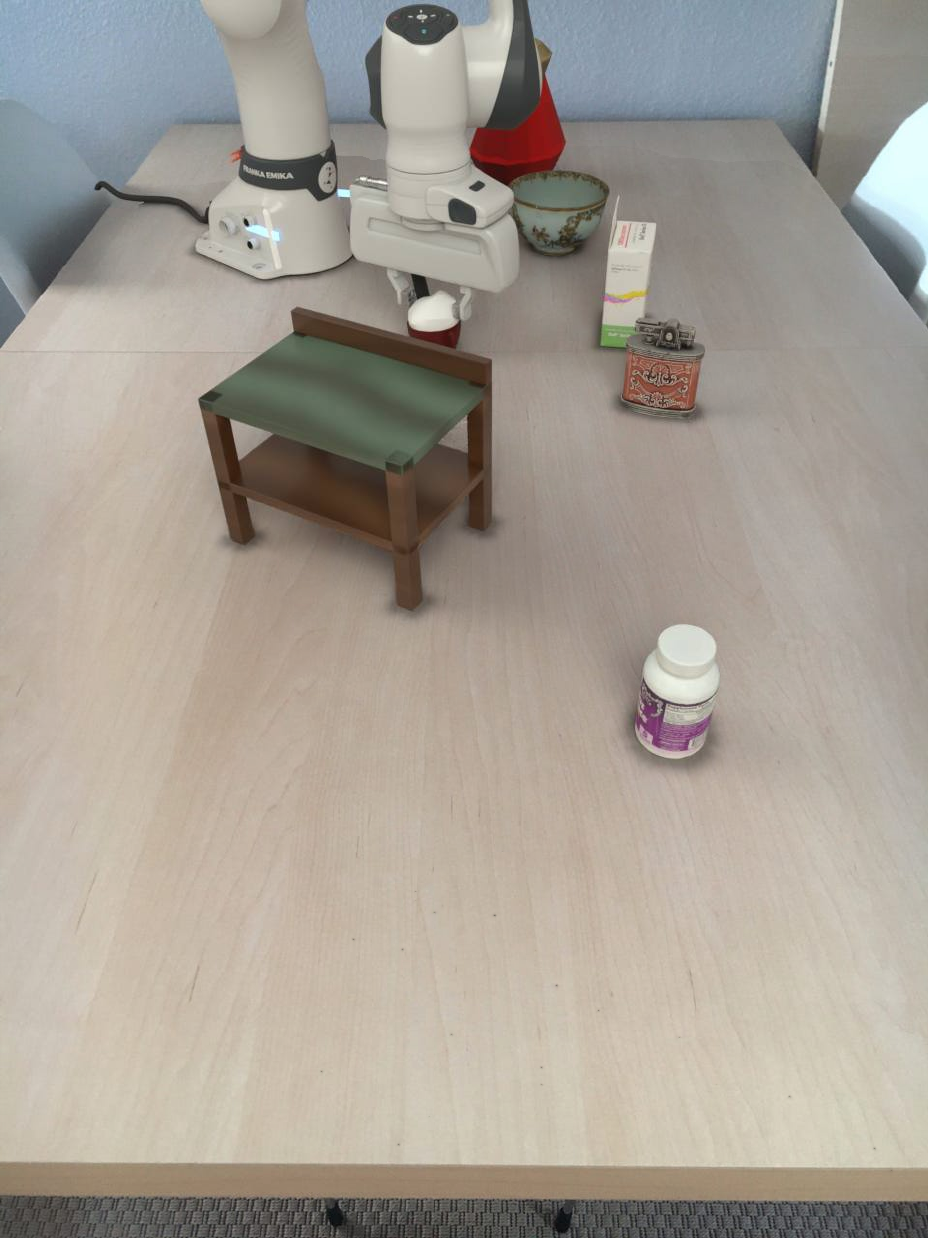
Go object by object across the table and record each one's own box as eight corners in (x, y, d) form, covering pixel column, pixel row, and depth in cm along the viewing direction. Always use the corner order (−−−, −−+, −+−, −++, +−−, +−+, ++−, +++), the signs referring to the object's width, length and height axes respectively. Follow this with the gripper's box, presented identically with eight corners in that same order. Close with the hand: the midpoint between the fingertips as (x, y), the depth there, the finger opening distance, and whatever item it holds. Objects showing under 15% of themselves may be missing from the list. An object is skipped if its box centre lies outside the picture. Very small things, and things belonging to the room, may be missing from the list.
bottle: (519, 163, 161) (522, 22, 147) (583, 184, 154) (592, 38, 140) (449, 190, 153) (446, 44, 139) (513, 213, 146) (516, 62, 132)
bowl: (491, 259, 135) (491, 199, 129) (524, 221, 143) (526, 164, 138) (588, 274, 131) (592, 213, 125) (616, 234, 140) (621, 176, 134)
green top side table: (412, 611, 84) (400, 443, 73) (230, 540, 92) (192, 376, 80) (492, 522, 93) (492, 358, 81) (319, 463, 100) (296, 305, 89)
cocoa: (466, 364, 114) (465, 262, 106) (412, 369, 113) (406, 267, 105) (455, 327, 121) (453, 228, 113) (404, 331, 120) (398, 232, 112)
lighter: (697, 405, 107) (711, 319, 100) (691, 421, 105) (705, 334, 98) (623, 393, 109) (632, 308, 102) (616, 409, 107) (625, 323, 100)
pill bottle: (627, 709, 76) (640, 618, 69) (695, 704, 76) (714, 613, 70) (642, 765, 72) (657, 674, 65) (714, 759, 72) (736, 668, 66)
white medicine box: (641, 350, 116) (656, 224, 106) (598, 347, 117) (609, 221, 106) (646, 316, 122) (660, 194, 112) (606, 313, 123) (616, 191, 112)
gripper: (331, 181, 106) (344, 302, 116) (498, 215, 99) (498, 342, 108) (364, 162, 110) (374, 281, 120) (527, 193, 103) (524, 318, 112)
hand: (434, 310), depth 114 cm, fingers closed on cocoa, 6 cm apart
